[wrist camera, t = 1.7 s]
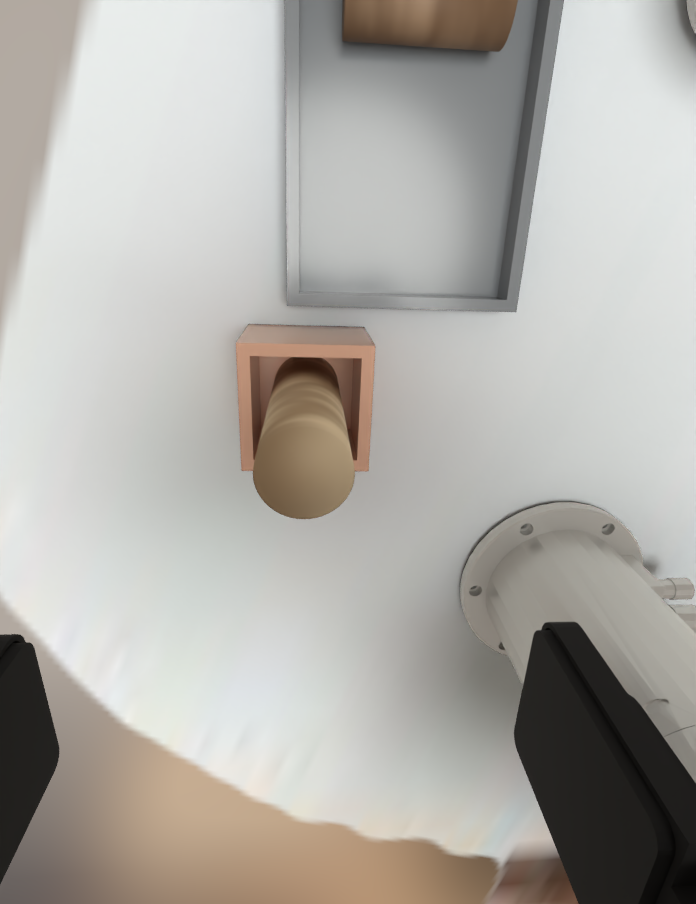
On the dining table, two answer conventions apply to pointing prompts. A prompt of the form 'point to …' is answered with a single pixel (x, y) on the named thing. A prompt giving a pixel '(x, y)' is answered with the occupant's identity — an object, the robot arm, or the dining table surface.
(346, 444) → the oak dowel
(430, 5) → the walnut dowel
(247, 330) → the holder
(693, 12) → the cup
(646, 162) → the dining table surface
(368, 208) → the tray
